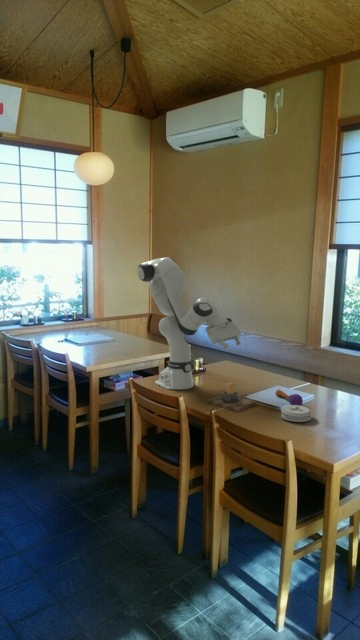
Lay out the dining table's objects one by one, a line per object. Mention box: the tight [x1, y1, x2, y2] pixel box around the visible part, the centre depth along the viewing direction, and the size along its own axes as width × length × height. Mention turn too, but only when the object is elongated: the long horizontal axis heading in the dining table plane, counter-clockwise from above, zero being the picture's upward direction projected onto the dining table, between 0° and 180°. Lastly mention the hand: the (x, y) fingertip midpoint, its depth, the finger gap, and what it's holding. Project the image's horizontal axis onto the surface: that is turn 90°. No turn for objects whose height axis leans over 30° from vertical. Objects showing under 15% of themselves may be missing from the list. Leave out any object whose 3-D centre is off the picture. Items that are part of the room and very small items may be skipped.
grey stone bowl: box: [221, 390, 240, 403], centre depth 219 cm, size 8×8×4 cm
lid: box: [280, 404, 312, 423], centre depth 199 cm, size 13×13×5 cm
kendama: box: [275, 389, 304, 406], centre depth 221 cm, size 6×6×20 cm
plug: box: [225, 382, 236, 395], centre depth 219 cm, size 4×4×8 cm
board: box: [207, 395, 257, 413], centre depth 219 cm, size 18×14×2 cm
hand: (233, 346), depth 225 cm, fingers open, 8 cm apart
